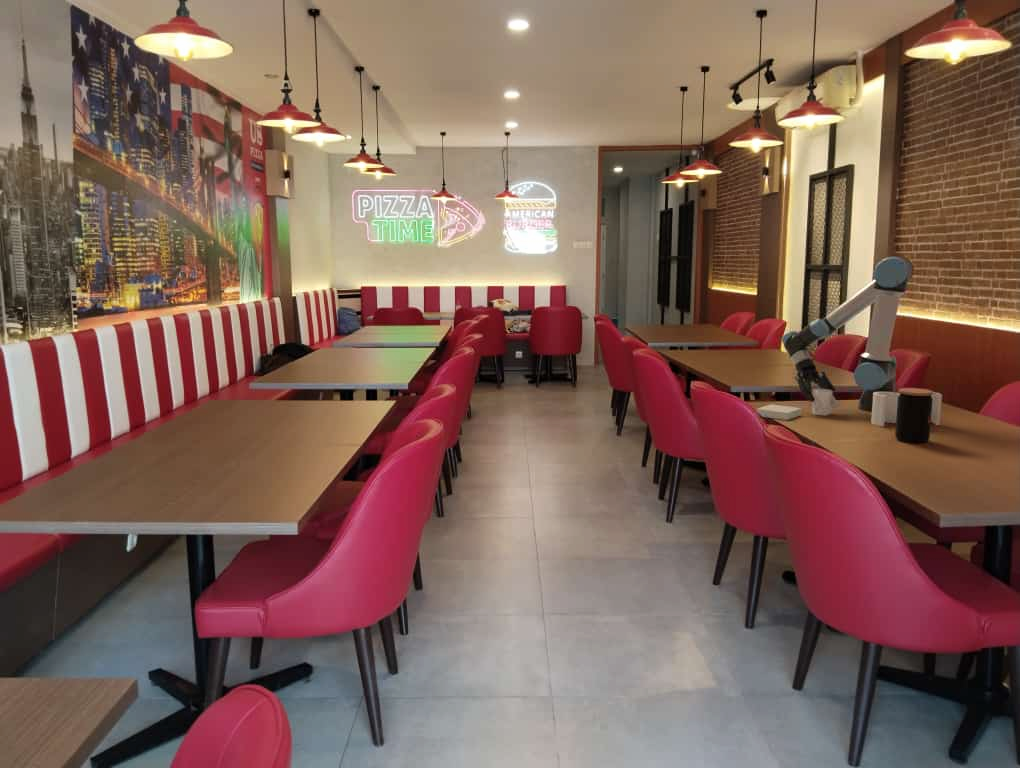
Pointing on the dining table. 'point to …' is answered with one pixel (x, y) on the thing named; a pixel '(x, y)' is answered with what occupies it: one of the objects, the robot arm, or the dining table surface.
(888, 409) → the bracket
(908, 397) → the coffee jar
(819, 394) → the white cup
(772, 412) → the plinth
